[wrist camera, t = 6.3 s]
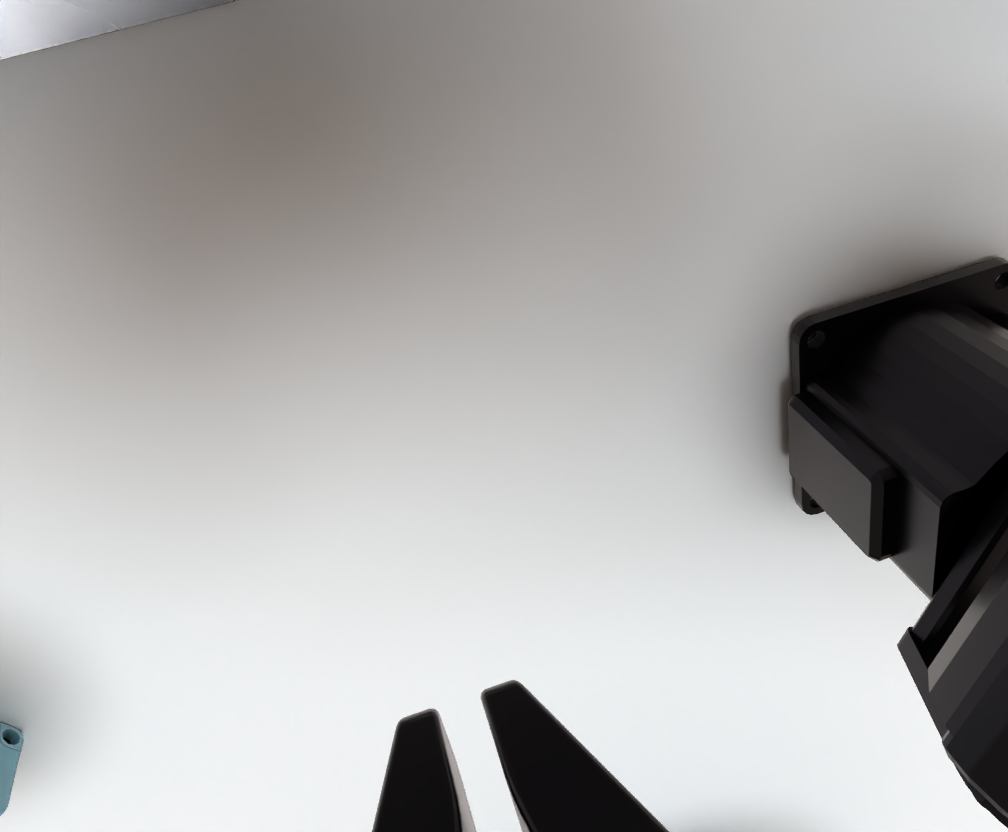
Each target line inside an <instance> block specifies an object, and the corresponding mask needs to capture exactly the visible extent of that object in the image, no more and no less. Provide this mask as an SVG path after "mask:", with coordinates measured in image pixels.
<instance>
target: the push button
mask: <svg viewBox="0 0 1008 832" xmlns="http://www.w3.org/2000/svg"><path fill="white" fill-rule="evenodd" d="M22 745H23V735H22V734H21V732H20V731H19V730H18V729H16V728H14V727H12V726H10V725H7V724H4V723H0V816H1V815H2V814H3V813H4V812H5V810H6V808H7V807H8V803H9V799H10V794H11V790H12V786H13V781H14V777H15V773H16V768H17V764H18V760H19V755H20V752H21V749H22Z"/></svg>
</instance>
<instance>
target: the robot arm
mask: <svg viewBox="0 0 1008 832" xmlns="http://www.w3.org/2000/svg"><path fill="white" fill-rule="evenodd" d="M999 275H1000V277H999V278H998V280H997V281H996V282H995V280H996V278H997V277H998V276H999ZM816 331H817V333H816V336H815V337H814V338H813V339H812V340H810V341H809V342H808V338H809V337H810V335H811V334H812V333H814V332H816ZM791 357H792V397H791V399H790V401H789V404H788V434H789V471H790V474H791V475H792V477H793V478H794V485H795V501H796V503H797V504H798V506H799V507H800V508H801V509H802V510H803V511H804V512H805V513H806V514H810V515H813V514H818V513H821V512H824V511H825V512H826V513H827V514H828V515H829V516H830V517H831V518H832V519H833V520H834V521H835V522H836V524H837V525H838V526H839V527H840V528H841V529H842V530H843V531H844V532H845V533H846V534H847V535H848V536H849V537H850V538H851V540H852V541H853V542H854V543H855V544H856V545H857V546H858V547H859V548H860V549H861V550H862V551H863V552H864V553H865V554H866V555H867V556H868V557H870V558H872V559H874V560H875V561H881V560H884V559H886V558H890V559H891V560H892V561H893V562H894V563H895V564H896V565H897V566H898V567H899V568H900V569H901V570H902V572H903V573H904V574H905V575H906V576H907V577H908V578H909V579H910V580H911V581H912V582H913V583H914V584H915V585H916V586H917V587H918V588H919V589H920V590H921V591H922V592H923V593H924V594H925V595H926V596H927V597H928V598H929V599H930V600H931V601H930V602H929V604H928V605H927V607H926V609H925V610H924V612H923V613H922V615H921V616H920V618H919V619H918V621H917V622H916V624H915V626H914V627H909V628H908V629H907V630H906V632H905V634H904V635H903V637H902V638H901V640H900V641H899V643H898V644H897V646H898V649H899V651H900V653H901V655H902V657H903V659H904V661H905V663H906V665H907V667H908V669H909V672H910V674H911V676H912V678H913V680H914V682H915V684H916V686H917V688H918V690H919V692H920V694H921V696H922V699H923V701H924V703H925V705H926V707H927V709H928V711H929V713H930V715H931V717H932V719H933V721H934V723H935V725H936V728H937V730H938V732H939V734H940V736H941V738H942V744H943V746H944V748H945V751H946V753H947V755H948V757H949V758H950V760H951V761H952V762H953V763H954V765H955V767H956V769H957V771H958V772H959V774H960V776H961V777H962V779H963V781H964V782H965V784H966V785H967V787H968V788H969V789H970V790H971V792H972V793H973V795H974V797H975V799H976V800H977V801H978V802H979V803H980V804H981V805H982V806H983V807H984V808H986V809H987V810H988V811H990V812H991V813H992V814H993V815H994V816H995V817H996V818H997V819H998V820H999V821H1000V822H1001V823H1002V824H1004V825H1005V826H1006V827H1007V828H1008V261H1007V260H1005V259H1003V258H994V259H991V260H988V261H985V262H981V263H978V264H975V265H972V266H969V267H965V268H962V269H959V270H956V271H953V272H949V273H946V274H943V275H940V276H937V277H933V278H930V279H927V280H924V281H921V282H917V283H914V284H911V285H908V286H905V287H902V288H898V289H895V290H892V291H889V292H886V293H882V294H879V295H876V296H873V297H870V298H866V299H863V300H860V301H857V302H854V303H850V304H847V305H844V306H841V307H838V308H834V309H831V310H828V311H825V312H822V313H818V314H815V315H812V316H809V317H807V318H805V319H803V320H801V321H800V322H799V323H798V324H797V325H796V326H795V328H794V330H793V332H792V336H791ZM811 498H813V499H811ZM481 700H482V704H483V707H484V710H485V713H486V717H487V720H488V723H489V726H490V730H491V733H492V736H493V739H494V742H495V746H496V749H497V752H498V755H499V759H500V762H501V765H502V768H503V772H504V775H505V778H506V781H507V784H508V788H509V791H510V794H511V797H512V800H513V803H514V806H515V810H516V813H517V816H518V819H519V822H520V825H521V829H522V832H669V831H668V830H667V829H666V828H665V827H664V826H663V825H662V824H661V823H660V822H659V821H658V820H657V819H656V818H655V817H654V816H653V815H652V814H651V813H650V812H649V811H648V810H647V809H646V808H645V807H644V806H643V805H642V804H641V803H640V802H639V801H638V800H637V799H636V798H635V797H634V796H633V795H632V794H631V793H630V792H629V791H628V790H627V789H626V788H625V787H624V786H623V785H622V784H621V783H620V782H619V781H618V780H617V779H616V778H615V777H614V776H613V775H612V774H611V773H610V772H609V771H608V770H607V769H606V768H605V767H604V766H603V765H602V764H601V763H600V762H599V761H598V760H597V759H596V758H595V757H594V756H593V755H592V754H591V753H590V752H589V751H588V750H587V749H586V748H585V747H584V746H583V745H582V744H581V743H580V742H579V741H578V740H577V739H576V738H575V737H574V736H573V735H572V734H571V733H570V732H569V731H568V730H567V729H566V728H565V727H564V726H563V725H562V724H561V723H560V722H559V721H558V720H557V719H556V718H555V717H554V716H553V715H552V714H551V713H550V712H549V711H548V710H547V709H546V708H545V707H544V706H543V705H542V704H541V703H540V702H539V701H538V700H537V699H536V698H535V697H534V696H533V695H532V694H531V693H530V692H529V691H528V690H527V689H526V688H525V687H524V686H523V685H522V684H521V683H520V682H518V681H516V680H511V681H508V682H505V683H502V684H499V685H496V686H493V687H490V688H488V689H485V690H484V691H483V692H482V694H481ZM372 832H476V828H475V825H474V821H473V818H472V814H471V811H470V807H469V804H468V800H467V797H466V793H465V790H464V786H463V782H462V779H461V775H460V772H459V769H458V765H457V762H456V759H455V756H454V753H453V751H452V748H451V745H450V742H449V740H448V737H447V734H446V731H445V728H444V726H443V723H442V720H441V717H440V715H439V713H438V711H437V710H435V709H427V710H424V711H422V712H419V713H416V714H413V715H410V716H407V717H404V718H403V719H401V720H400V721H399V722H398V725H397V727H396V730H395V735H394V739H393V743H392V748H391V752H390V756H389V761H388V765H387V769H386V774H385V778H384V782H383V786H382V791H381V795H380V799H379V804H378V808H377V812H376V817H375V821H374V825H373V830H372Z"/></svg>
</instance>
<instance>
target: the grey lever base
mask: <svg viewBox="0 0 1008 832" xmlns="http://www.w3.org/2000/svg"><path fill="white" fill-rule="evenodd" d="M233 1H237V0H0V60H2V59H5V58H9V57H13V56H17V55H21V54H25V53H29V52H33V51H37V50H41V49H45V48H49V47H53V46H57V45H61V44H65V43H69V42H73V41H77V40H81V39H85V38H89V37H93V36H97V35H101V34H105V33H109V32H113V31H117V30H121V29H125V28H129V27H133V26H137V25H141V24H145V23H149V22H153V21H157V20H161V19H165V18H169V17H173V16H177V15H181V14H185V13H189V12H193V11H197V10H201V9H205V8H209V7H213V6H217V5H221V4H225V3H229V2H233Z"/></svg>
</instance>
